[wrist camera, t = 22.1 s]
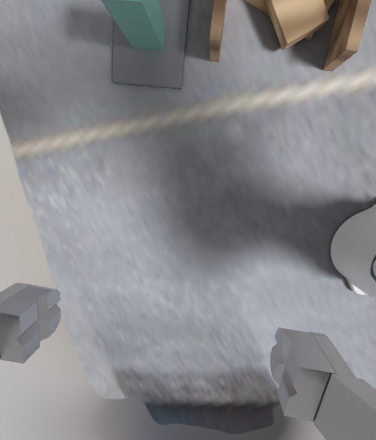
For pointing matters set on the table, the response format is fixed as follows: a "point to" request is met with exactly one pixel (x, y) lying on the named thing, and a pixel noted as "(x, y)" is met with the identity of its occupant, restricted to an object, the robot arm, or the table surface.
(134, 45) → the teal block
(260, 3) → the oak offcut lower
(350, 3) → the walnut rack
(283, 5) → the oak offcut upper
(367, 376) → the table surface
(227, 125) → the table surface
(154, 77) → the charcoal mat
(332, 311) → the table surface
